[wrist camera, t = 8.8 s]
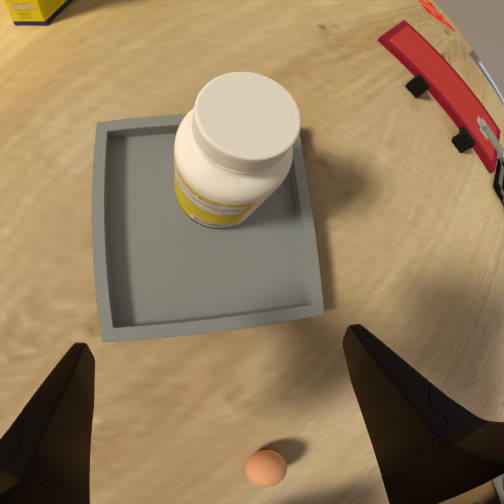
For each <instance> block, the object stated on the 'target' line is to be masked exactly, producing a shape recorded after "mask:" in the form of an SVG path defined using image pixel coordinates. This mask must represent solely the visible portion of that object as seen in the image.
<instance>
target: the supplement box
mask: <svg viewBox="0 0 504 504" xmlns="http://www.w3.org/2000/svg"><path fill="white" fill-rule="evenodd" d="M4 1H5V4H6V6H7V8H8V11H9V13H10V15H11V18H12V20H13V22H14V24H15V25H16V26H17V25H40V26H41V25H44V26H46V25H48V24H49V23H50V22H51V21H52V20H53V18H54V17H55V16H56V15H57V14H58V13H59V12H60V11H61V10H63V9H64V8H65V7H66V6H67V5H68V4H69V3H70V2H71V1H72V0H4Z"/></svg>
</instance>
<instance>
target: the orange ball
mask: <svg viewBox="0 0 504 504" xmlns="http://www.w3.org/2000/svg"><path fill="white" fill-rule="evenodd" d="M245 472H246V475H247V477H248V479H249V480H250V481H251V482H253V483H254V484H256V485H258V486H263V487H268V486H273V485H276V484H277V483H279V482H280V481H281V480H282V479H283V478H284V477H285V475H286V472H287V464H286V461H285V459H284V458H283V457H282V456H281V455H280V454H279V453H277V452H275V451H271V450H262V451H258V452H256V453H254V454H253V455H251V456H250V457H249V459H248V460H247V462H246V465H245Z"/></svg>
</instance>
